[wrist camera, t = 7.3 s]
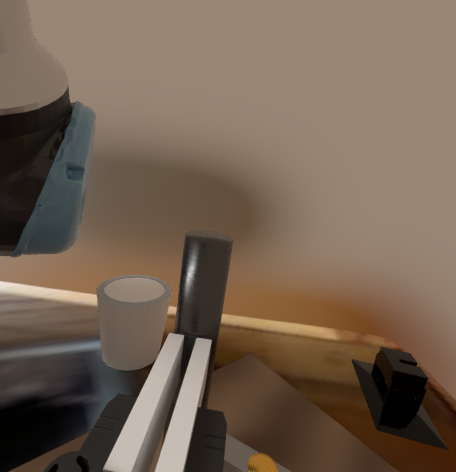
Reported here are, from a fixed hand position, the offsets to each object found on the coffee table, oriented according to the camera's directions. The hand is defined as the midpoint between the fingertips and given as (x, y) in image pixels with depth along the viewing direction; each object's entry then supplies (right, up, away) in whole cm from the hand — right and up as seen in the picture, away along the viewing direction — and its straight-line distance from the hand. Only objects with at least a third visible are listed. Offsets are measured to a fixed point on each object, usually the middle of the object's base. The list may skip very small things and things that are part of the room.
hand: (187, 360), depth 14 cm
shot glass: (-8, -6, +15) cm, 17 cm away
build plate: (+18, -10, +14) cm, 25 cm away
